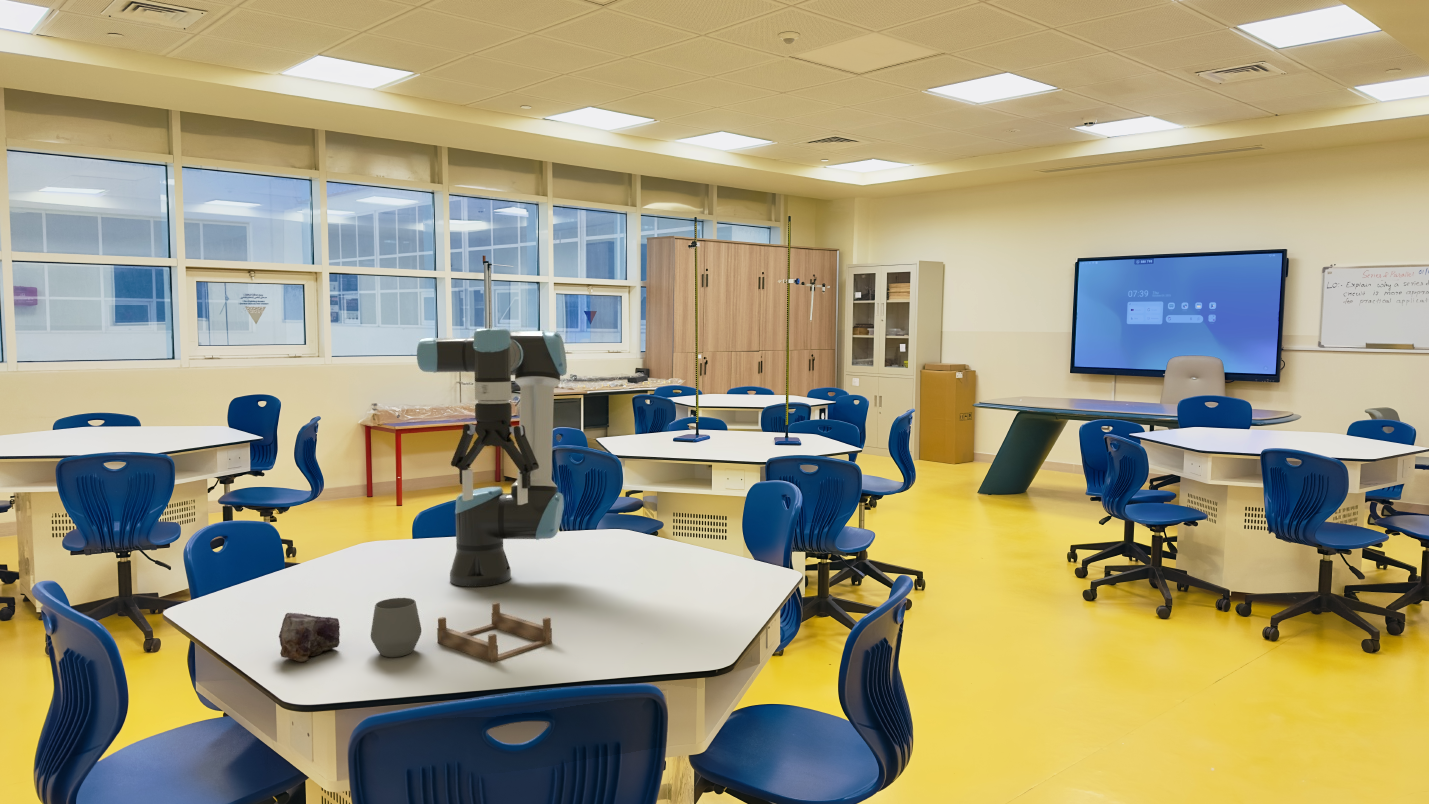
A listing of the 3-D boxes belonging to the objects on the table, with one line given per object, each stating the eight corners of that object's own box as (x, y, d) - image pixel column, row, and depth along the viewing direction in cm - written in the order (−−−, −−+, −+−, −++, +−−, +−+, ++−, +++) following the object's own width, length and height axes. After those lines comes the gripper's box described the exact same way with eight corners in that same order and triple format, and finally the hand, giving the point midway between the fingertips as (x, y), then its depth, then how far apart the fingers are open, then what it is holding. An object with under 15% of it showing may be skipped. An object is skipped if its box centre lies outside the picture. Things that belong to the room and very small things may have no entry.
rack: (436, 642, 189) (436, 618, 189) (497, 624, 201) (496, 602, 200) (491, 662, 177) (491, 637, 177) (552, 642, 189) (552, 618, 189)
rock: (344, 658, 184) (312, 647, 189) (349, 614, 184) (318, 605, 190) (290, 666, 174) (258, 655, 179) (296, 620, 174) (264, 610, 180)
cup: (431, 647, 186) (430, 598, 185) (401, 663, 177) (400, 612, 176) (392, 642, 189) (390, 594, 188) (360, 658, 180) (359, 607, 179)
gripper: (432, 401, 196) (435, 501, 198) (535, 404, 188) (536, 508, 189) (454, 399, 203) (456, 495, 205) (554, 402, 195) (555, 502, 196)
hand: (495, 501), depth 197 cm, fingers open, 13 cm apart
